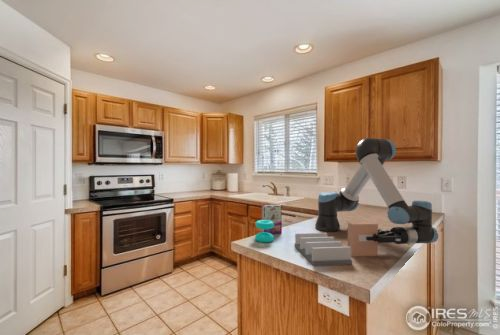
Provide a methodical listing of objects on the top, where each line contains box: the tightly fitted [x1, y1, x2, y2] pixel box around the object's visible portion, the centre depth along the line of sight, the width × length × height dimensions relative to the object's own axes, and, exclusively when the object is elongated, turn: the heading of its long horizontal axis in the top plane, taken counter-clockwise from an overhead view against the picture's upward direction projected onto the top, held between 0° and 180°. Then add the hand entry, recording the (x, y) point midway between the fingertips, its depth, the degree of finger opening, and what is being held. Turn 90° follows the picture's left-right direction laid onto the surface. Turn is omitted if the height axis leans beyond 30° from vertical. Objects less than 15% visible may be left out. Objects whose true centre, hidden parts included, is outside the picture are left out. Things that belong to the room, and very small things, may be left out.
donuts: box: [254, 219, 275, 243], centre depth 126 cm, size 10×10×10 cm
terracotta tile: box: [347, 221, 379, 258], centre depth 107 cm, size 4×12×14 cm, turn 98°
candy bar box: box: [261, 204, 283, 235], centre depth 141 cm, size 11×5×16 cm, turn 105°
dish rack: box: [294, 232, 353, 267], centre depth 106 cm, size 24×16×6 cm, turn 7°
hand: (355, 236), depth 106 cm, fingers closed on terracotta tile, 4 cm apart
